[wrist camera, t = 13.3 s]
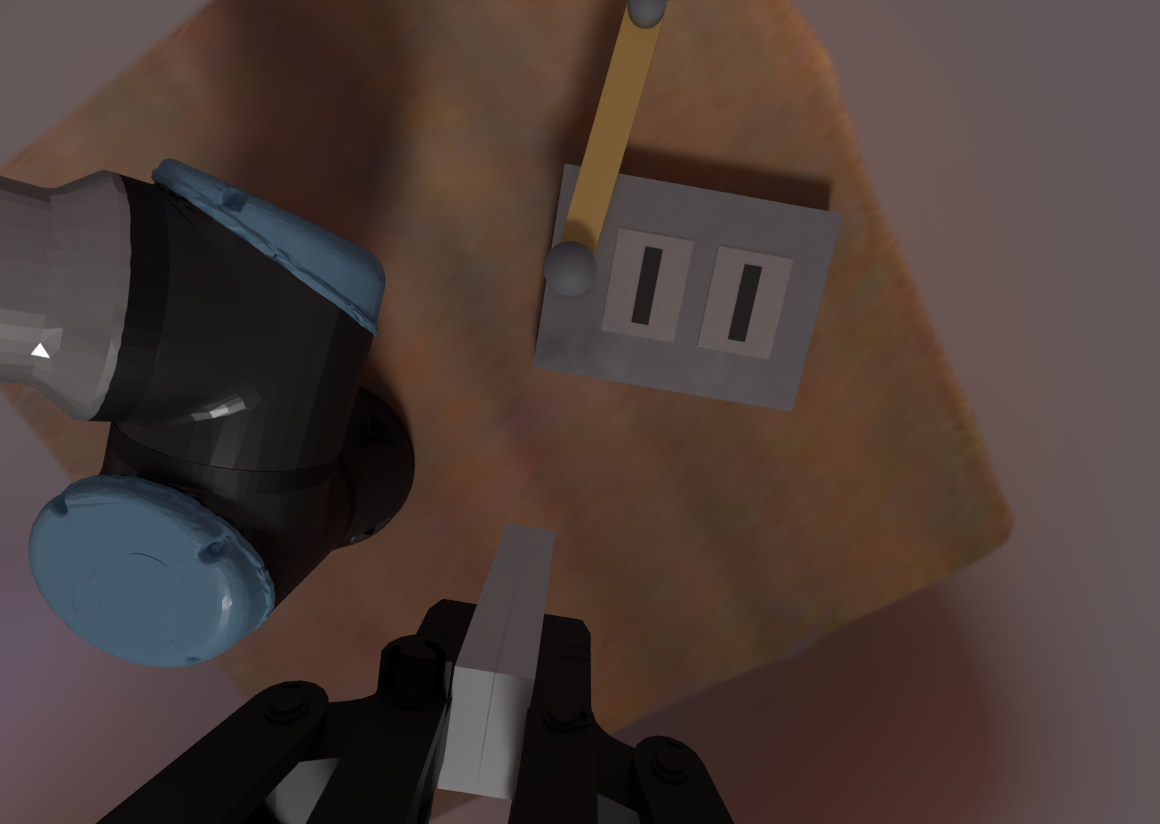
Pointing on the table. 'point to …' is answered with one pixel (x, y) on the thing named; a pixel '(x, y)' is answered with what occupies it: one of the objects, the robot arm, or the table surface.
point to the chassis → (693, 293)
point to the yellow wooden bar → (605, 149)
